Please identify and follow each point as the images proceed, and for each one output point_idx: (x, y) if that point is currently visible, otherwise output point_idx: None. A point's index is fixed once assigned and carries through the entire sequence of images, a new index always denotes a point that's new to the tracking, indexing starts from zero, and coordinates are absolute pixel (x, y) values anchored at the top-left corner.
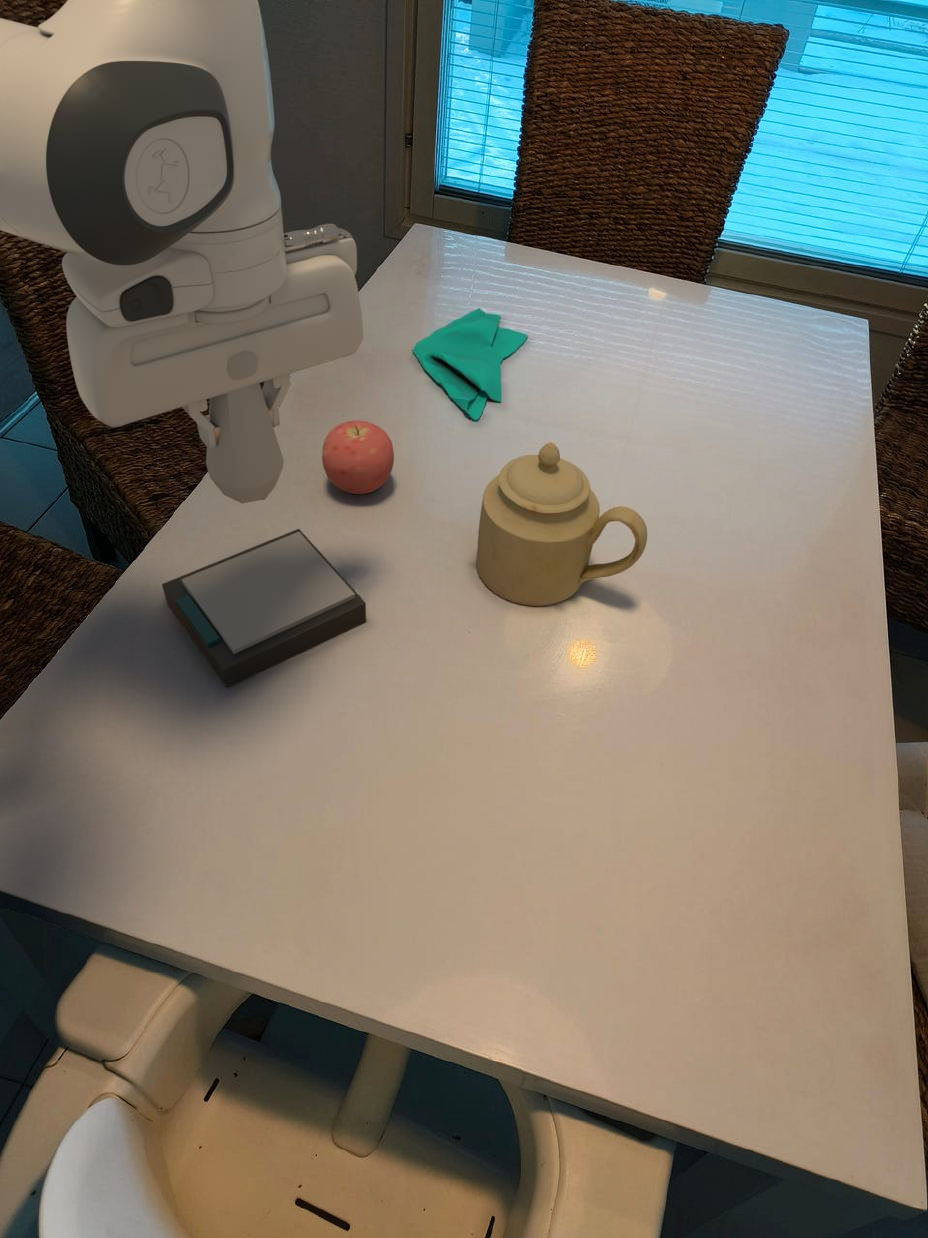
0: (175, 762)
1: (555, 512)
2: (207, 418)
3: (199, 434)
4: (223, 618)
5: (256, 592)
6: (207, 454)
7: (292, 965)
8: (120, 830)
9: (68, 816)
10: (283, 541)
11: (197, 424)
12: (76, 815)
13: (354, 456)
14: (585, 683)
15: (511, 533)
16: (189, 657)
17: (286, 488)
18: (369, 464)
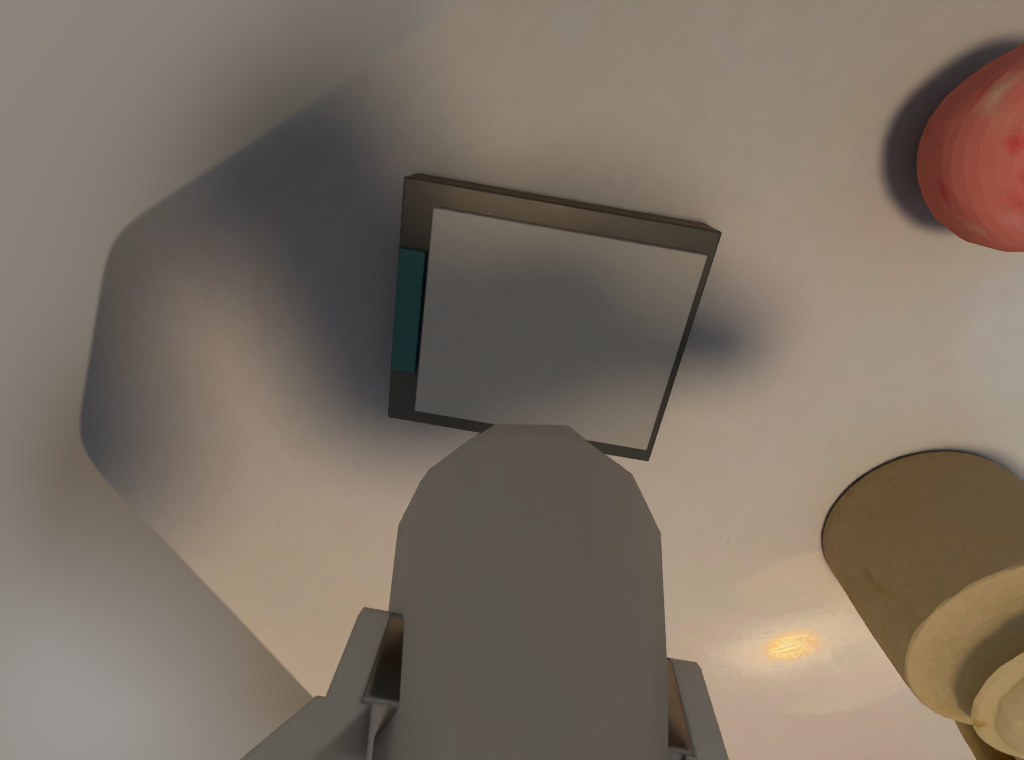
0: (287, 441)
1: (990, 745)
2: (374, 719)
3: (357, 619)
4: (440, 347)
5: (523, 337)
6: (409, 533)
7: (287, 655)
8: (198, 469)
9: (149, 418)
10: (659, 259)
11: (339, 665)
12: (158, 423)
13: (1007, 211)
14: (746, 667)
15: (906, 658)
16: (386, 311)
17: (854, 17)
18: (1004, 243)
